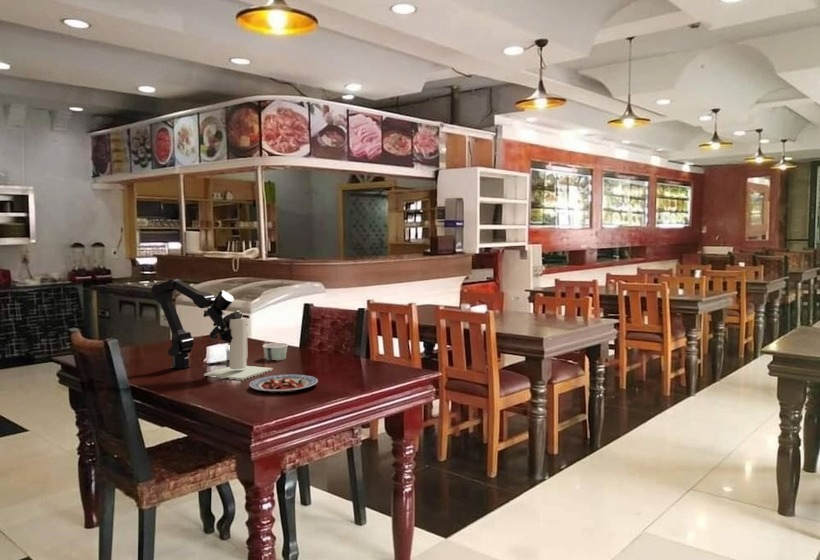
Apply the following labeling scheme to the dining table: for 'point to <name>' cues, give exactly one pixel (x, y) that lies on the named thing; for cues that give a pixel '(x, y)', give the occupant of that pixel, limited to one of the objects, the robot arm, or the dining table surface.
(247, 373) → the sage board
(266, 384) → the ceramic plate
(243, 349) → the paper towel roll
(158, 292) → the robot arm
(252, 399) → the dining table surface
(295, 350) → the dining table surface
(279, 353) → the food container
